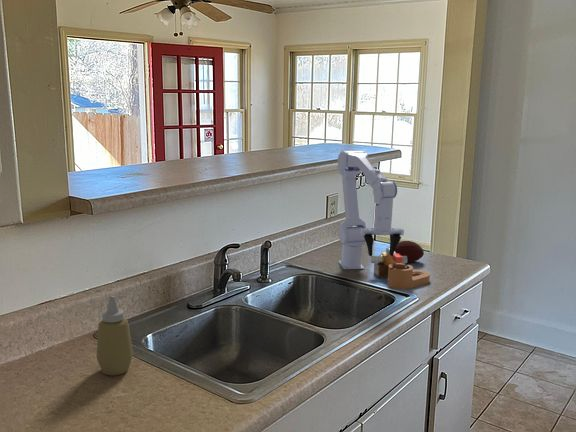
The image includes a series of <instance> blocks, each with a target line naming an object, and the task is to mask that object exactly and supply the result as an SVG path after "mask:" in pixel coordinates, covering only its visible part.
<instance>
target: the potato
mask: <svg viewBox="0 0 576 432" xmlns="http://www.w3.org/2000/svg"><path fill="white" fill-rule="evenodd" d="M394 252H395V253H396V254H398V253H399V254H400V255H401V256H407V263H413V262H417V261H419V260H420V259H422V258H423V256H424V254H425V253H424V252H425V251H424V249H423V247H422V246H421V245H419V244H418V243H416V242H415V241H411V240H400V241H399V243H398V244H397V246H396V248H395V251H394ZM407 263H406V264H407Z"/></svg>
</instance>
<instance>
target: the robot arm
mask: <svg viewBox="0 0 576 432" xmlns="http://www.w3.org/2000/svg"><path fill="white" fill-rule="evenodd" d="M337 166H338V167H337V168H338V173H339V174H340V175H341V181H342V192H343V202H344V203H343V204H344V213H345V215H344V216H345V219H344V220H343V221H342V222H340V224H339V225H338V227H339V229H338V230H339V231H338V239H339V242H340V243H341V244H342V245H341V253H340V254H341V255H340V256H341V257H340V260H338V264H339V265H340V267H342V269H343V270H364V269H365V267H364V266H363V264H362V256H363V255H362V254H363V245H365V243H366V246H367V252H368V253H367V254H368V256H370V257H371V256H373V245H374V241H375V240H374V239H375V238H374V236H386V235H387V236H389V248H390V251H389V254H390V255H391V256H393V254H394V251H395V248H396V246H397V244H398V243H399V242H401V241H402V240H401V239H402V236H404V233H405V232H404V231H405V230H404V229H403V228H397V227H392V221H393V208H394V207H393V206H394V199H395V198H396V197H397V194H398V185H397V184H396V182H395V180H388V178H387V177H385V175H384V174H383V173H382V172H381V170H380V169H378V168H374V167H373V166H372V164H371V163H370V161H369V154H368V153H367V152H366V150H341V151H340V152H339V154H338V157H337ZM360 173H363V174H364V175H365V181H366V182H367V184H368V185H369V186H370V187H371V188H372V194H373V199H374V200H373V201H374V204H375V210H374V222H373V225H374V226H373V227H369V228H367V226H366V222H365V221H364V220H363V219H361V218H360V214H359V203H358V201H359V200H358V192H357V191H358V190H357V181H356V180H357V179H356V177H357V175H358V174H360Z"/></svg>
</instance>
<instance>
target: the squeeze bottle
mask: <svg viewBox="0 0 576 432" xmlns="http://www.w3.org/2000/svg"><path fill="white" fill-rule="evenodd" d="M101 314H102V320H100V322H99V323H98V325H97V326H98V328H97V331H98V332H97V341H96V342H97V344H96V360H97V363H98V364H99V368H100V370H101V371H102V373H103V374H105V375H108V376H120V375H122V374H125V373H126V372H128V370H129V368H130V365H131V362H132V359H133V355H134V352H133V344H132V337H131V331H130V324H129V320H128V319H127V318H125V313H124V310H123V309H121V308H119V306H118V302H117V299H116V296H115V295H111V296H109V297H108V304H107V309H106V310H103V312H102V313H101Z"/></svg>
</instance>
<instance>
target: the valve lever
mask: <svg viewBox="0 0 576 432" xmlns="http://www.w3.org/2000/svg"><path fill="white" fill-rule="evenodd" d="M385 250H386V251H385V252H386V253H387V254H389V251H390V247H387V248H386V249H385ZM389 255H390V254H389ZM390 256H391V255H390ZM392 259H393V260H394V261H395V262H396V263H402V259H403V257H402V256H401V255H400V254H399V253H398V254H396V253H395V252H394V254H393V256H392Z"/></svg>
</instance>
